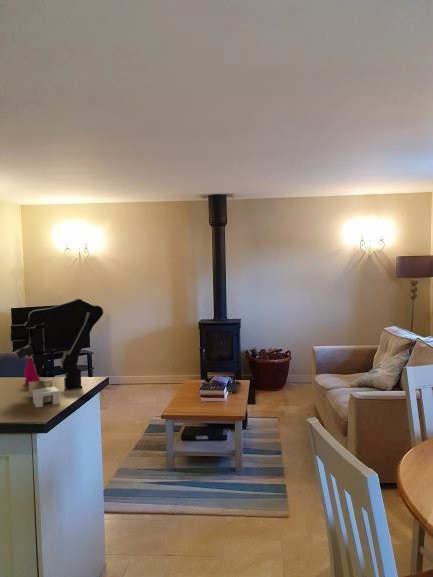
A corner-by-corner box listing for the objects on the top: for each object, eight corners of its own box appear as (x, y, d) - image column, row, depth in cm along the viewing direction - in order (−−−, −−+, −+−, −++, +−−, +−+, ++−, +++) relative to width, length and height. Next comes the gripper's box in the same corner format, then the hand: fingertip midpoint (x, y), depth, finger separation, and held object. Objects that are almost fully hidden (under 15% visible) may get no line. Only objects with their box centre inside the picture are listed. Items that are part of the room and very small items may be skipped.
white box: (52, 393, 180) (51, 379, 180) (59, 401, 167) (58, 386, 167) (29, 396, 175) (28, 382, 175) (34, 405, 162) (34, 390, 162)
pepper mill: (44, 381, 203) (42, 339, 203) (32, 385, 196) (31, 342, 196) (32, 380, 205) (30, 339, 205) (20, 384, 199) (19, 341, 198)
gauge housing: (55, 398, 172) (55, 386, 172) (59, 403, 165) (59, 390, 165) (33, 402, 168) (32, 389, 167) (36, 407, 161) (35, 394, 161)
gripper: (13, 338, 186) (15, 373, 186) (19, 343, 170) (20, 382, 170) (40, 336, 192) (42, 370, 192) (48, 340, 176) (49, 378, 176)
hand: (38, 375), depth 183 cm, fingers closed
